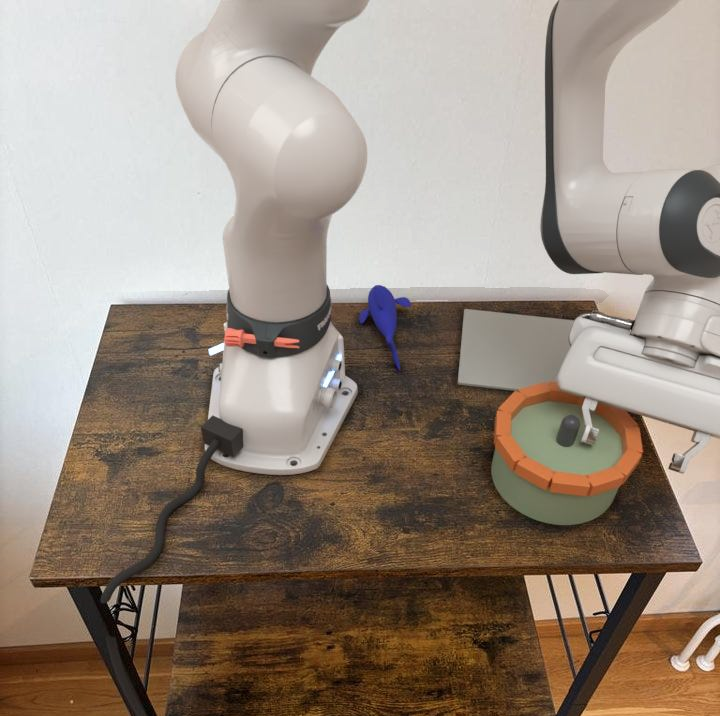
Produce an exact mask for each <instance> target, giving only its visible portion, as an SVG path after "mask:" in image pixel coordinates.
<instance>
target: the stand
mask: <svg viewBox="0 0 720 716" xmlns="http://www.w3.org/2000/svg"><path fill="white" fill-rule="evenodd" d="M589 412H590V417H591V422H592V427H593V428H596V429H599V433H598V436H597V437H596V442H595V444H594V445H590V444H587V443H584V442H581V439H582V436H583V433H584V431H585V428H586V426H585V423H584V418H583V413H582V406H581V405H579V404H574V403H565V402H557V401H545V402H542V403H538V404H534V405H531V406H527V407H524V408H523V409H522V410H521V411H520V412H519V413H518V414H517V415H516V416H515V417H514V418H513V419H512V420H511V436H512V437H513V438H514V440H515V441H516V442H517V444H518V445H519V447H520V448H521V449H522V451H523V452H524V453H525V455H526V456H527V457H529V458H531V459H533V460H535V461H536V462H538V463H540V464H542V465H544V466H546V467H547V468H549V469H551V470H553V471H557V472H565V473H573V474H581V475H589V474H592V473H595V472H599V471H602V470H605V469H608V468H611V467H614V466H615V465H616V464H617V462H618V461H619V460H620V458H621V457H622V456H623V449H622V441H621V436H620V435H619V434H618V432H617V431H616V430H615V429H614V428H613V427H612V425H611V424H610V423H609V422H608V421H607V420H606V419H605V417H603V416H601V415H599V414H597V413H595V412H592V411H590V410H589ZM490 469H491V471H490V472H491V473H490V474H491V478H492V482H493V484H494V487H495V489H496V490H497V492H498V494H499V496H501V498H502V499H503V500H504V501H505V502H506V503H507V504H508V505H509V506H510V507H512V508H513V509H514V510H516V511H517V512H519V513H520V514H522V515H524V516H526V517H528V518H530V519H532V520H535V521H537V522H541V523H544V524H549V525H554V526H575V525H580V524H585V523H588V522H590V521H593V520H595V519H597V518H599V517H601V515H603V514H604V513H605V512H606V511H607V510H608V509H609V508H610V507H611V505H612V504H613V502H614V500H615V497H616V495H617V493H618V491H619V488H620V487H617V488H614V489H611V490H608V491H605V492H602V493H599V494H595V495H592V496H589V495H588V493H587V496H578V495H570V494H562V493H554V492H549V487H548V489H547V490H544V489H542V488H540V487H538V486H536V485H534V484H533V483H531V482H529V481H527V480H525V479H524V478H522V477H520V476H518V475H516V474H515V470H514V471H511V469H510V468H509V466H508V465H507V464H506V462H505V461H504V459H503V458H502V456H501V455H500V454H499V452H498V451H497V449H496V448H495V447H494V452H493V457H492V460H491V468H490Z"/></svg>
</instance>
